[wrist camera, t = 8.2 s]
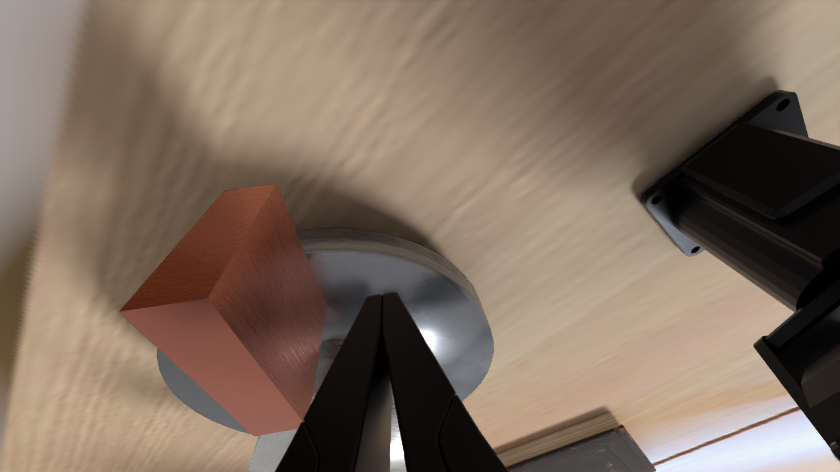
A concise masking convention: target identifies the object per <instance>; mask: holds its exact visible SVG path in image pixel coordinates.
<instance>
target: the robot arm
mask: <svg viewBox="0 0 840 472" xmlns="http://www.w3.org/2000/svg"><path fill="white" fill-rule="evenodd" d="M640 201H641V203H642V205H643V206H644V207H645V208H646V209H647V211H648V212H649V213H650V214H651V215H652V217H653V218H654V219H655V220H656V222H657V223H658V224H659V225H660V226H661V228H662V229H663V230H664V231H665V232H666V234H667V235H668V236H669V237H670V238H671V240H672V241H673V242H674V243H675V244H676V246H677V247H678V248H679V249H680V250H681V251H682V252H683V253H684V254H686V255H687V256H695V255H697V254H699V253H700V252H702V251H703V250H706V251H708V252H709V253H711V254H712V255H714V256H715V257H716V258H718V259H719V260H721V261H722V262H724V263H725V264H726V265H728V266H729V267H731V268H732V269H734V270H735V271H736V272H738V273H739V274H741V275H742V276H743V277H745V278H746V279H748V280H749V281H751V282H752V283H753V284H755V285H756V286H758V287H759V288H761V289H762V290H763V291H765V292H766V293H768V294H769V295H771V296H772V297H773V298H775V299H776V300H778V301H779V302H781V303H782V304H783V305H785V306H786V307H788V308H789V309H791V310H792V311H793V312H795V313H794V314H793V315H791V316H790V317H789V318H788V319H787V320H786V321H784V322H783V323H782V324H781V325H780V326H779V327H777V328H776V329H775V330H774V331H773V332H772V333H771V334H769V335H768V336H763V337H761V338H760V339H759V340H758V341H757V342H756V343H754V345H753V346H754V348H755V349H756V351H757V352H758V353H759V355H760V356H761V357H762V359H763V360H764V361H765V362H766V364H767V365H768V366H769V368H770V369H771V370H772V372H773V373H774V374H775V376H776V377H777V378H778V380H779V381H780V382H781V384H782V385H783V386H784V388H785V389H786V390H787V392H788V393H789V394H790V395H791V397H792V398H793V399H794V401H795V402H796V403H797V405H798V406H799V407H800V409H801V410H802V411H803V413H804V414H805V415H806V417H807V418H808V419H809V421H810V422H811V423H812V425H813V426H814V427H815V428H816V430H817V431H818V432H819V434H820V435H821V436H822V438H823V439H824V440H825V442H826V443H827V444H828V446H829V447H830V448H831V451H832V453H833V454H834V456H835V458H836V459H837V460H838V461H839V462H840V146H836V145H832V144H829V143H825V142H821V141H818V140H814V139H811V138H809V137H808V134H807V130H806V126H805V123H804V119H803V116H802V112H801V108H800V105H799V101H798V97H797V95H796V93H795V92H789V91H784V90H779V91H776V92H774V93H772V94H771V95H769V96H768V97H767V98H765V99H764V100H763V101H762V102H760V103H759V104H758V105H756V106H755V107H754V108H753V109H751V110H750V111H749V112H747V113H746V114H745V115H744V116H742V117H741V118H740V119H738V120H737V121H736V122H735V123H733V124H732V125H731V126H729V127H728V128H727V129H726V130H724V131H723V132H722V133H720V134H719V135H718V136H717V137H715V138H714V139H713V140H711V141H710V142H709V143H707V144H706V145H705V146H704V147H702V148H701V149H700V150H698V151H697V152H696V153H695V154H693V155H692V156H691V157H689V158H688V159H687V160H686V161H684V162H683V163H682V164H680V165H679V166H678V167H677V168H675V169H674V170H673V171H671V172H670V173H669V174H668V175H666V176H665V177H664V178H662V179H661V180H660V181H658V182H657V183H656V184H655V185H653V186H652V187H651V188H649V189H648V190H647V191H646V192H645V193H644V194H643V195H642V197H641V200H640ZM392 392H393V398H394V403H395V409H396V415H397V420H398V426H399V432H400V437H401V443H402V449H403V454H404V460H405V466H406V471H407V472H509V471H508V469H507V468H506V467H505V465H504V464H503V463H502V461H501V460H500V459H499V457H498V456H497V455H496V453H495V452H494V450H493V449H492V448H491V446H490V445H489V443H488V442H487V440H486V439H485V438H484V436H483V435H482V433H481V432H480V430H479V429H478V427H477V426H476V424H475V422H474V421H473V419H472V418H471V416H470V414H469V413H468V411H467V410H466V408H465V406H464V405H463V403H462V401H461V399H460V398H459V396H458V395H456V391H455V390H454V388H453V386H452V384H451V383H450V381H449V379H448V378H447V376H446V374H445V372H444V371H443V369H442V367H441V366H440V364H439V362H438V361H437V359H436V357H435V355H434V354H433V352H432V350H431V349H430V347H429V345H428V343H427V342H426V340H425V338H424V337H423V335H422V333H421V332H420V330H419V328H418V326H417V325H416V323H415V321H414V320H413V318H412V316H411V314H410V313H409V311H408V309H407V308H406V306H405V304H404V302H403V301H402V299H401V297H400V296H399V294H398V293H397V292H389V293H384V294H383V296H382V295H381V294H377V295H370V296H368V297H367V298H366V299H365V301H364V303H363V305H362V307H361V309H360V311H359V313H358V315H357V317H356V319H355V320H354V322H353V324H352V326H351V328H350V330H349V332H348V334H347V336H346V338H345V340H344V342H343V343H342V345H341V347H340V349H339V351H338V353H337V355H336V357H335V359H334V361H333V363H332V365H331V366H330V368H329V370H328V372H327V374H326V376H325V378H324V380H323V382H322V384H321V386H320V388H319V389H318V391H317V393H316V395H315V397H314V399H313V401H312V403H311V405H310V407H309V409H308V411H307V412H306V414H305V416H304V422H301V424H300V426H299V427H298V429H297V431H296V433H295V435H294V437H293V439H292V441H291V443H290V445H289V446H288V448H287V450H286V452H285V454H284V455H283V457H282V459H281V461H280V463H279V464H278V466H277V468H276V470H275V471H274V472H390V452H391V416H392Z"/></svg>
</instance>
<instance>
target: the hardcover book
mask: <svg viewBox="0 0 840 472" xmlns="http://www.w3.org/2000/svg"><path fill="white" fill-rule="evenodd" d="M497 456H498V457H499V459H500V460H501V461H502V463H503V464H504V465H505V467H506V468H507V469H508V471H509V472H654V471H656V469H655V468H654V466H653V465H652V464H651V462H650V461H649V460H648V458H647V457H646V456H645V454H644V453H643V452H642V450H641V449H640V448H639V446H638V445H637V444H636V442H635V441H634V440H633V438H632V437H631V436H630V434H629V433H628V432H627V430H626V429H625V427H624V426H623V425H620V424H619V423H618V421H617V420H616V419H615V417H614V416H613V415H612V414H611V412H608V413H606V414H603V415H600V416H598V417H595V418H593V419H590V420H587V421H585V422H582V423H579V424H577V425H574V426H571V427H569V428H566V429H563V430H561V431H558V432H555V433H553V434H550V435H547V436H545V437H542V438H539V439H537V440H534V441H531V442H529V443H526V444H523V445H521V446H518V447H515V448H513V449H510V450H507V451H505V452H502V453H499V454H497Z"/></svg>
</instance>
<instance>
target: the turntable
mask: <svg viewBox="0 0 840 472" xmlns="http://www.w3.org/2000/svg"><path fill="white" fill-rule="evenodd" d="M389 292H397V293H398V294H399V296H400V297H401V299H402V301H403V302H404V304H405V306H406V308H407V309H408V311H409V313H410V314H411V316H412V318H413V320H414V321H415V323H416V325H417V326H418V328H419V330H420V332H421V333H422V335H423V337H424V338H425V340H426V342H427V343H428V345H429V347H430V349H431V350H432V352H433V354H434V355H435V357H436V359H437V361H438V362H439V364H440V366H441V367H442V369H443V371H444V372H445V374H446V376H447V378H448V379H449V381H450V383H451V384H452V386H453V388H454V390H455V391H456V395H458V396H459V398H460V399H461V401H463V400H464V399H465V398H466V397H468V396H469V395H470V394H471V393H472V392H473V391H474V390H475V389H476V388H477V387H478V385H479V384H480V383H481V382H482V380H483V379H484V377H485V375H486V374H487V372H488V370H489V367H490V365H491V362H492V357H493V353H494V343H493V337H492V333H491V329H490V326H489V324H488V321H487V318H486V316H485V313H484V310H483V308H482V305H481V302H480V299H479V297H478V295H477V293H476V291H475V289H474V287H473V286H472V284H471V283H470V282H469V280H468V279H467V278H466V276H465V275H464V274H463V273H462V272H461V271H460V270H459V269H458V268H457V267H456V266H454V265H453V264H452V263H451V262H449V261H448V260H446V259H445V258H443V257H442V256H441V255H439V254H438V253H436V252H434V251H432V250H430V249H428V248H426V247H424V246H422V245H420V244H417V243H414V242H411V241H409V240H406V239H403V238H400V237H397V236H392V235H388V234H384V233H380V232H375V231H367V230H359V229H350V228H320V229H308V230H298V231H296V230H295V227H294V225H293V223H292V220H291V218H290V216H289V213H288V211H287V208H286V206H285V204H284V201H283V199H282V197H281V194H280V192H279V190H278V187H277V185H276V184H271V185H263V186H256V187H249V188H241V189H234V190H227V191H224V192H223V193H222V194H221V196H220V197H219V198H218V199H217V200H216V201H215V202H214V204H213V205H212V206H211V207H210V208H209V209H208V210H207V212H206V213H205V214H204V215H203V216H202V217H201V218H200V220H199V221H198V222H197V223H196V224H195V225H194V226H193V228H192V229H191V230H190V231H189V232H188V233H187V234H186V236H185V237H184V238H183V239H182V240H181V241H180V242H179V244H178V245H177V246H176V247H175V248H174V249H173V250H172V252H171V253H170V254H169V255H168V256H167V257H166V258H165V260H164V261H163V262H162V263H161V264H160V265H159V266H158V268H157V269H156V270H155V271H154V272H153V273H152V275H151V276H150V277H149V278H148V279H147V280H146V281H145V283H144V284H143V285H142V286H141V287H140V288H139V289H138V291H137V292H136V293H135V294H134V295H133V296H132V297H131V299H130V300H129V301H128V302H127V303H126V304H125V305H124V307H123V308H122V309H121V310H120V311H119V312H120V313H121V314H122V315H123V316H124V317H125V318H126V319H127V320H128V321H129V322H130V323H132V324H133V325H134V326H135V327H136V328H137V329H138V330H139V331H140V332H141V333H142V334H143V335H145V336H146V337H147V338H148V339H149V340H150V341H151V342H152V343H153V344H154V345H155V346H157V347H158V350H157V359H158V365H159V370H160V372H161V374H162V376H163V379H164V381H165V383H166V384H167V385H168V387H169V388H170V389H171V391H172V392H173V393H174V394H175V395H176V396H177V397H178V398H179V399H180V400H181V401H182V402H183V403H184V404H186V405H187V406H189V407H190V408H191V409H193V410H194V411H196V412H197V413H199V414H201V415H203V416H205V417H206V418H208V419H210V420H212V421H214V422H217V423H219V424H222V425H224V426H226V427H229V428H232V429H235V430H238V431H241V432H245V433H249V434H252V435H253V436H259V435H265V434H271V433H277V432H283V431H288V430H294V429H298V427H299V426H300V424H301V422H304V416H305V414H306V412H307V411H308V409H309V407H310V405H311V402H312V396H313V390H314V384H315V378H316V372H317V365H318V359H319V353H320V347H321V341H325V340H330V339H338V338H346V336H347V334H348V332H349V330H350V328H351V326H352V324H353V322H354V320H355V319H356V317H357V315H358V313H359V311H360V309H361V307H362V305H363V303H364V301H365V299H366V298H367V297H368V296H370V295H377V294H381V295H382V296H383V294H384V293H389Z"/></svg>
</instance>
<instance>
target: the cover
mask: <svg viewBox="0 0 840 472" xmlns="http://www.w3.org/2000/svg"><path fill="white" fill-rule="evenodd" d="M344 340H345V338H338V339H330V340H325V341H321V347H320V353H319V359H318V365H317V372H316V378H315V384H314V390H313V396H312V401H313V399H314V397H315V395H316V393H317V391H318V389H319V388H320V386H321V384H322V382H323V380H324V378H325V376H326V374H327V372H328V370H329V368H330V366H331V365H332V363H333V361H334V359H335V357H336V355H337V353H338V351H339V349H340V347H341V345H342V343H343V342H344ZM311 403H312V402H311ZM296 431H297V429H294V430H288V431H283V432H277V433H271V434H265V435H259V436H258V439H257V442H256V446H255V450H254V453H253V457H252V460H251V464H250V467H249V471H248V472H274V471H275V470H276V468H277V466H278V464H279V463H280V461H281V459H282V457H283V455H284V454H285V452H286V450H287V448H288V446H289V445H290V443H291V441H292V439H293V437H294V435H295V433H296ZM390 472H407V471H406V466H405V460H404V454H403V449H402V443H401V437H400V432H399V426H398V420H397V415H396V409H395V403H394V398H393V392H392V416H391V452H390Z"/></svg>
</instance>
